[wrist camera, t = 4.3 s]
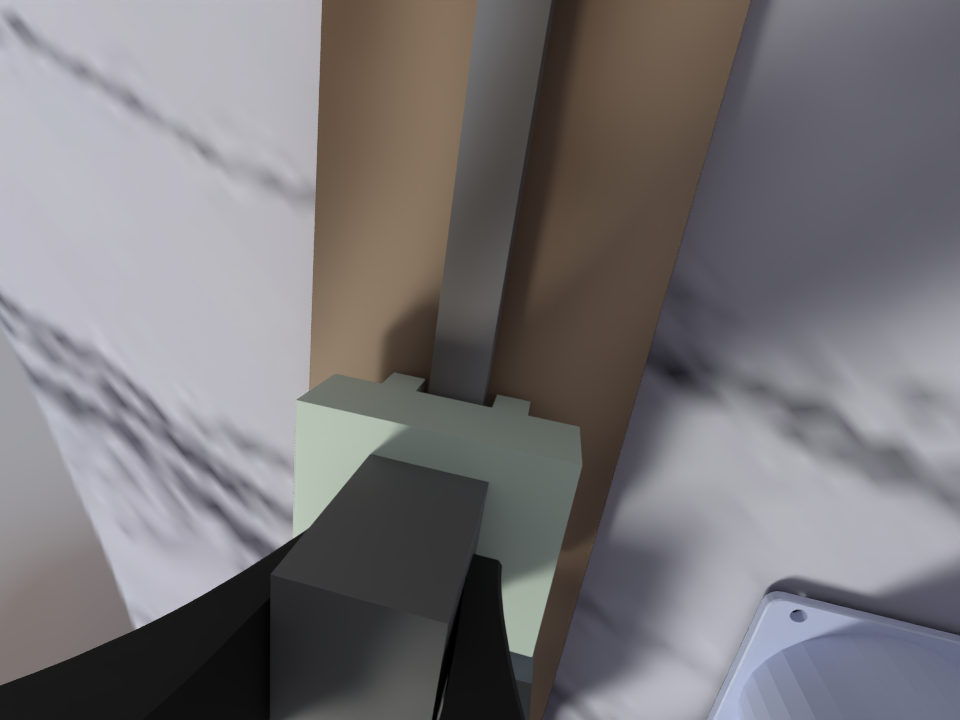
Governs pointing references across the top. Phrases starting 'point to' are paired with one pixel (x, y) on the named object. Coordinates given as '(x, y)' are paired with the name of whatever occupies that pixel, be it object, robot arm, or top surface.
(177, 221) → the top surface
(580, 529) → the rail base
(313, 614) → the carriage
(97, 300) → the top surface
